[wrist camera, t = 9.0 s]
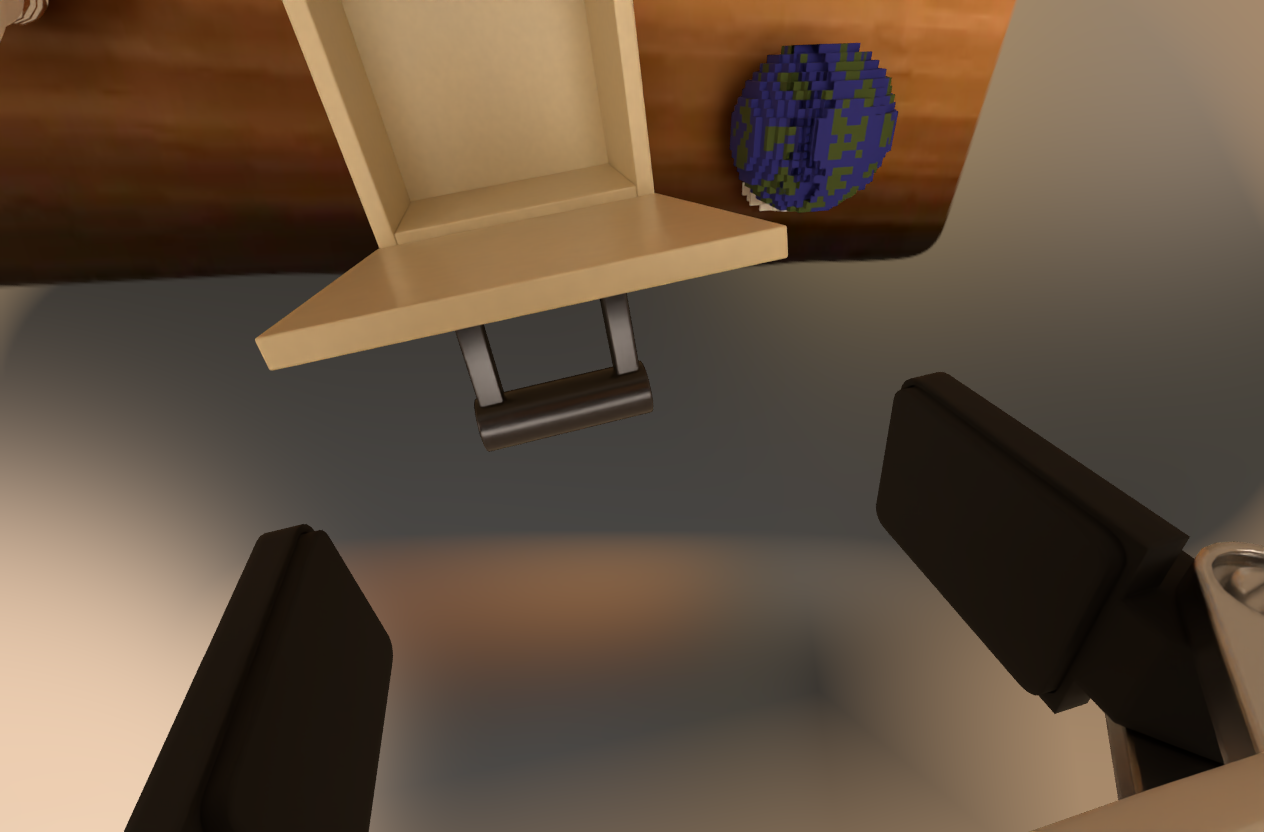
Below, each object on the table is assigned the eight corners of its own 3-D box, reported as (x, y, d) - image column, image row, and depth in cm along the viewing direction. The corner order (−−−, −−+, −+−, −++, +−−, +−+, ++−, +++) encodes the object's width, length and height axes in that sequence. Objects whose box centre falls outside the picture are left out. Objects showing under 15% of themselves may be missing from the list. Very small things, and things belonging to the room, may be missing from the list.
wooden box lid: (252, 338, 12) (342, 519, 15) (787, 224, 14) (795, 406, 16) (377, 249, 24) (415, 356, 27) (656, 192, 26) (671, 299, 28)
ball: (826, 193, 36) (899, 221, 30) (713, 203, 35) (764, 234, 28) (849, 44, 32) (939, 39, 25) (720, 48, 30) (782, 44, 24)
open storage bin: (296, -81, 24) (229, -133, 18) (580, -120, 26) (613, -181, 19) (402, 215, 31) (381, 255, 25) (621, 173, 33) (655, 199, 26)
